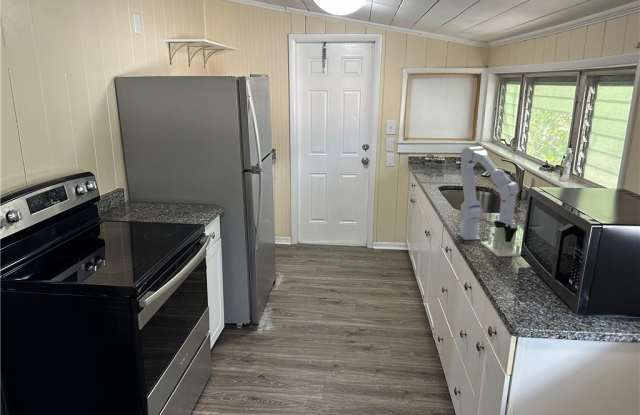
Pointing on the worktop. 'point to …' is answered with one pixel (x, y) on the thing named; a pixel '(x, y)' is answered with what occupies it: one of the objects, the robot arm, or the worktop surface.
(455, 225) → the worktop surface
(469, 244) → the worktop surface
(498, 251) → the rack
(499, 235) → the pale green tall block
